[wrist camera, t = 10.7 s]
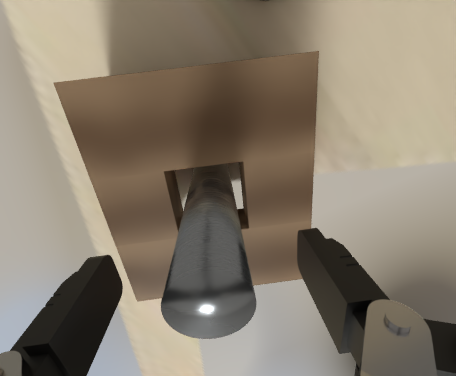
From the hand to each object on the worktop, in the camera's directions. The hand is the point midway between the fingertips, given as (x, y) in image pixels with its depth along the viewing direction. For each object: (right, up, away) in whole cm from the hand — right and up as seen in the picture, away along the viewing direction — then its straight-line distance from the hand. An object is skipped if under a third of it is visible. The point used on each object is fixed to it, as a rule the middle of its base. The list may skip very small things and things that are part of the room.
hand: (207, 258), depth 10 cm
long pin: (-1, +5, +12) cm, 13 cm away
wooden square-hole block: (-1, +5, +12) cm, 13 cm away
